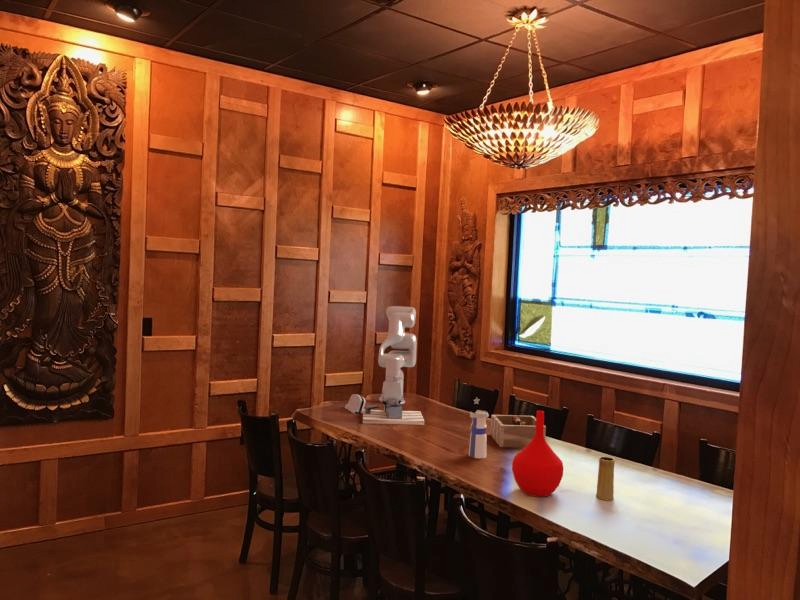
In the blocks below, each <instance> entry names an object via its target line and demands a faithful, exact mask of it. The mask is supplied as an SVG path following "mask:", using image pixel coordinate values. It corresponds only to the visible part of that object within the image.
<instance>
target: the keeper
mask: <svg viewBox="0 0 800 600" xmlns="http://www.w3.org/2000/svg"><path fill="white" fill-rule="evenodd" d="M379 408H380V405H377V404H373V405H372V404H371V405H367V406H366V405H365V406H364V410H365V413H366V414H370V411H371V410H375V409H379Z"/></svg>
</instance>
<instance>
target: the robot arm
mask: <svg viewBox="0 0 800 600" xmlns="http://www.w3.org/2000/svg"><path fill="white" fill-rule="evenodd" d="M385 314H386V318H387V319H388V334H387V338H385V339H384V340H383V341H382V342H381V345H380V346H379V349H378V350H379V351H378V358H377V362H378V365H379V366H380V367H381V368H385V381H384V380H383V383H382V390H381V395H380V397H379V398H378V400H379V401H380V402H381V403H382V404H383V405H384V407H385V412H386V404H388V401H393V402H394V403H396V404H399V405H404V404H405V403H406V400H405V398H404V378H405V377H404V375H405V374H404V371H403V370H402V369H401V368H403V367H404V368H414V367H415V365H416V363H417V350H418V349H417V347H418V343H417V341H418V340H417V336H416V334H413V333H406V332H405V331H406V330H405V329H406V328H414V326H415V324H416V316H417V310H416V308H415V307H413V306H399V305H397V306H396V305H392V306H388V307H387V308H386V311H385ZM388 347H391V349H397V350H390V351H389V352H388V353H385V350H386V349H387V348H388Z"/></svg>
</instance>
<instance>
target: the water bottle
mask: <svg viewBox="0 0 800 600" xmlns="http://www.w3.org/2000/svg"><path fill="white" fill-rule="evenodd" d="M473 401H474V405H475V404H477V405H479V402H480V399H479V398H478V397H476V398H475V399H473ZM489 416H490V415H489V413H488V411H486V410H480V409H476V411H475V412H472V411H470V413H469V417H470V419H472V422H471V424H470V427H469V430H470V435H469V438H470V439H469V446H468V447H469V450H468V457H470V458H473V459H485V458H487V436H488V435H487V427H488V426H487V421H486V420H487V418H488V417H489Z"/></svg>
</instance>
